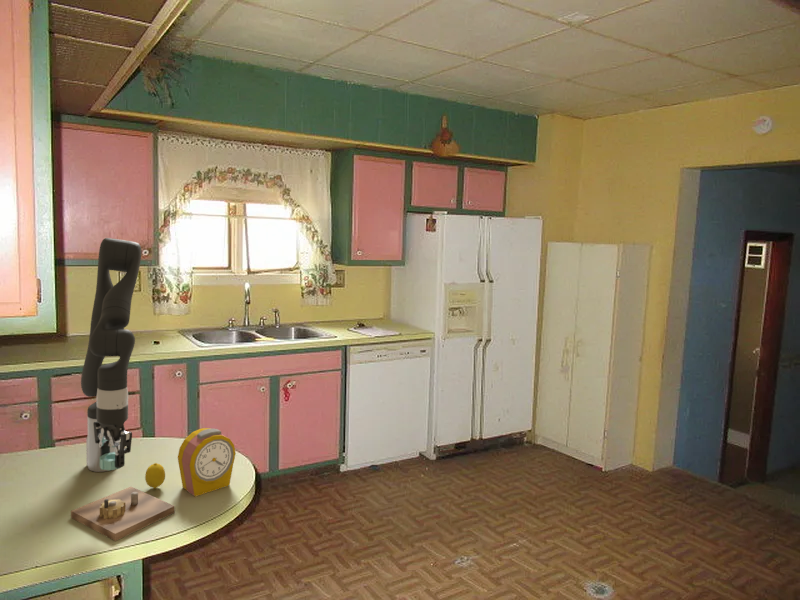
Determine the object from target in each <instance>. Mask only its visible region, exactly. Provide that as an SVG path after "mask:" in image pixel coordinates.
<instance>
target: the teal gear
mask: <svg viewBox="0 0 800 600" xmlns="http://www.w3.org/2000/svg"><path fill="white" fill-rule="evenodd" d="M115 455H116V454H115V452H113V453H106V454H104V455H102V456H100V468H101V469H102V470H103V469H104V470H109V471H115V470H119V469H122V467H120V468H116V467H115ZM125 459H126V456H125V457H124V466H125V464H126V461H125Z"/></svg>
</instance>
